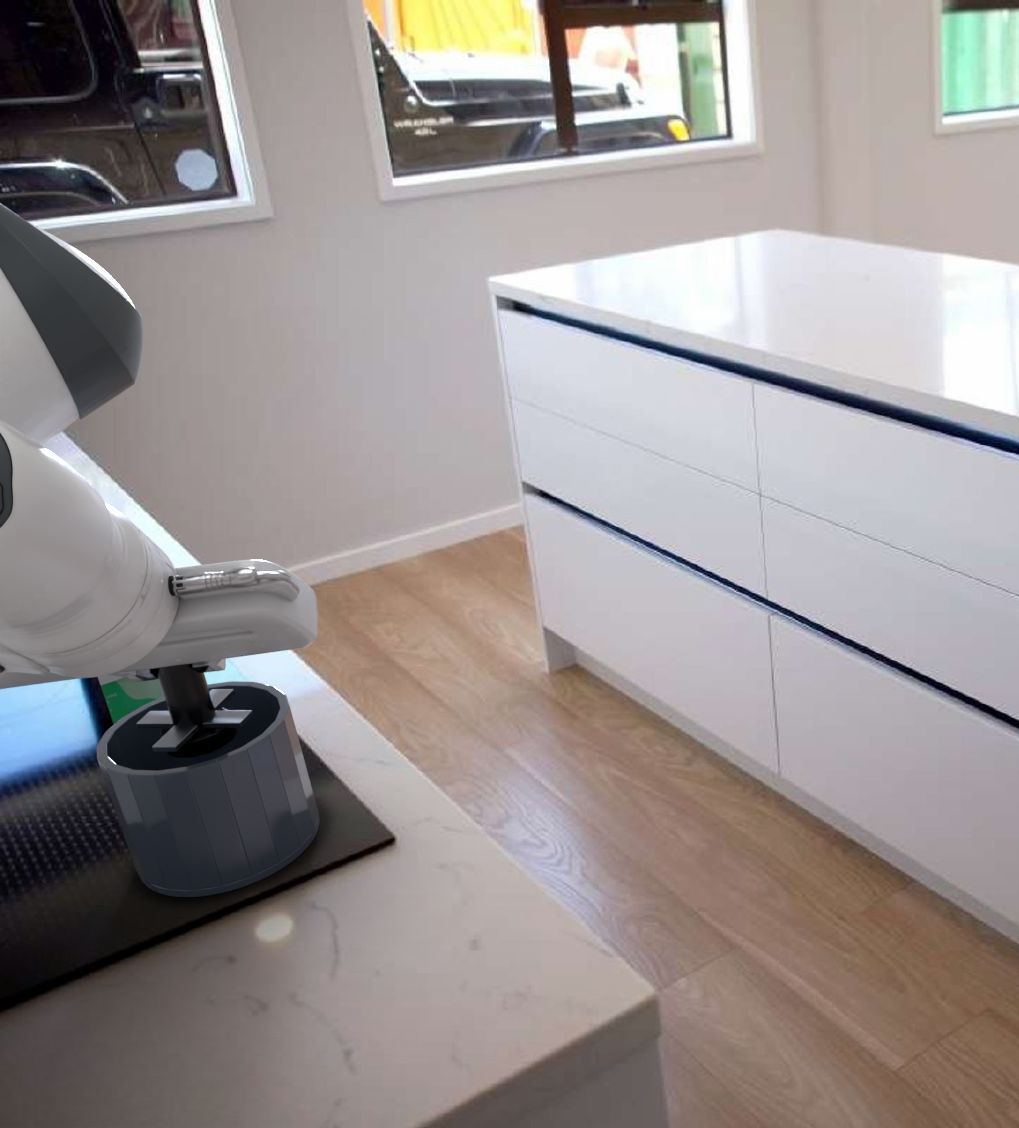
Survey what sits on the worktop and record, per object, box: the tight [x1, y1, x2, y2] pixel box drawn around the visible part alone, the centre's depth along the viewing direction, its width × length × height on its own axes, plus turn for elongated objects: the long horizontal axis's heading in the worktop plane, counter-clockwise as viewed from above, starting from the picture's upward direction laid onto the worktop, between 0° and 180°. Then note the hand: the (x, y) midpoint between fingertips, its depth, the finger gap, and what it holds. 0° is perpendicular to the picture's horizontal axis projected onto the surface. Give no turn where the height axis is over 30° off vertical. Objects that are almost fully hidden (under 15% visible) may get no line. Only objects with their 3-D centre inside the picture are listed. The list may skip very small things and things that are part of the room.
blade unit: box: [136, 663, 253, 758], centre depth 83 cm, size 7×7×10 cm
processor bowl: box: [96, 680, 321, 898], centre depth 87 cm, size 12×12×10 cm
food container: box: [97, 675, 164, 725], centre depth 101 cm, size 12×6×10 cm, turn 34°
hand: (181, 664), depth 84 cm, fingers closed on blade unit, 2 cm apart
